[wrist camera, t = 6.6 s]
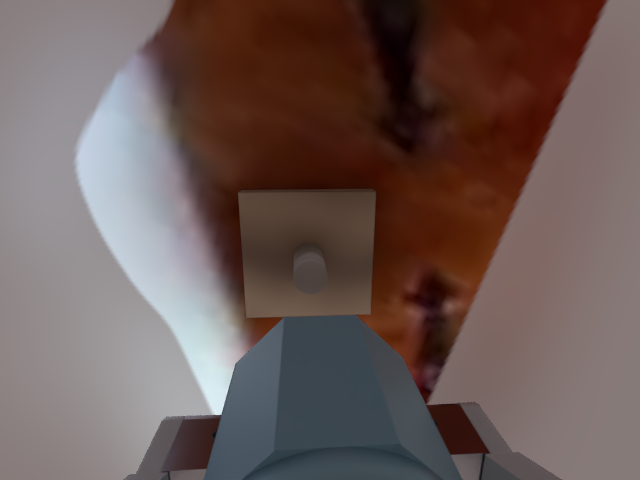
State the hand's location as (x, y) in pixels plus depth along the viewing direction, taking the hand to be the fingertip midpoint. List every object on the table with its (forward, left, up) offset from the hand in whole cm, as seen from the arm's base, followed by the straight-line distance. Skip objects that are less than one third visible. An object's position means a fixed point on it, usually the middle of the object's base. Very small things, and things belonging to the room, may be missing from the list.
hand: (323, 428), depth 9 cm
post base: (0, 0, -14) cm, 14 cm away
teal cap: (0, 0, -2) cm, 2 cm away
